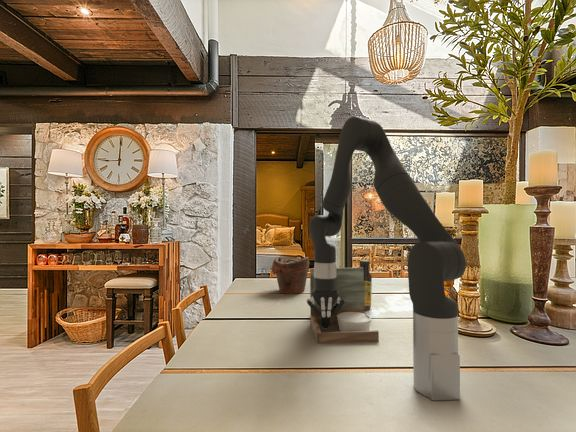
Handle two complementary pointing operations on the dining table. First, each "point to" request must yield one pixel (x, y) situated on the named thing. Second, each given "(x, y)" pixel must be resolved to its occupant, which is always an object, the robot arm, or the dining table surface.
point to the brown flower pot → (291, 274)
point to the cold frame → (343, 307)
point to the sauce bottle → (367, 284)
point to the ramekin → (353, 321)
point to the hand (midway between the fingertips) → (325, 327)
